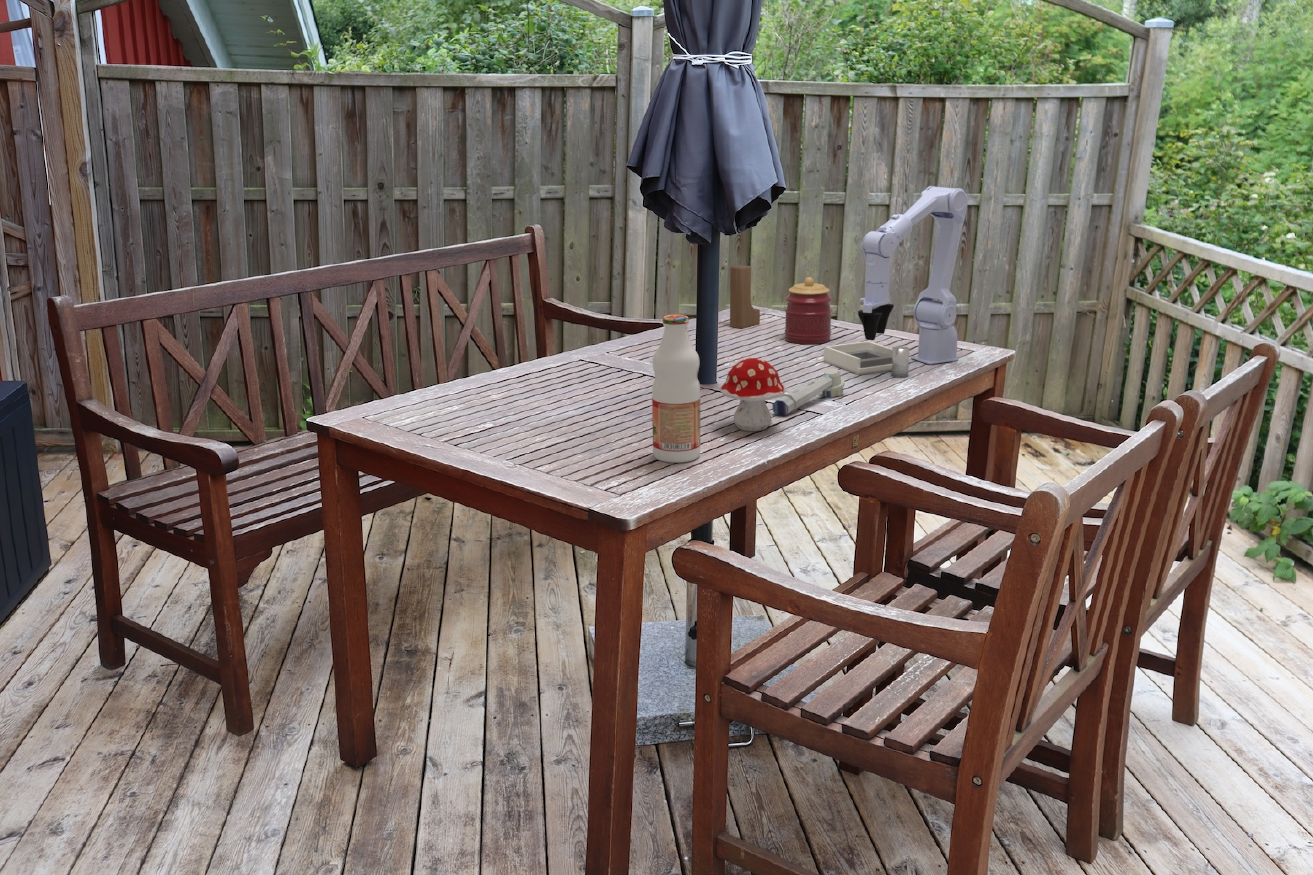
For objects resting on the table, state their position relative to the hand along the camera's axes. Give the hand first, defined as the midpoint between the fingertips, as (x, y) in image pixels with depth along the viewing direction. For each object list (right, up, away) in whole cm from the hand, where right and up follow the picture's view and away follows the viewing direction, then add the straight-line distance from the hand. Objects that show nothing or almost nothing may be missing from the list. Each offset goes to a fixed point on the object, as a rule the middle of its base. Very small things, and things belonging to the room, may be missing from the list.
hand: (874, 336), depth 289 cm
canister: (-11, +2, +41) cm, 43 cm away
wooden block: (-28, +8, +60) cm, 67 cm away
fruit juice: (-50, -29, -57) cm, 81 cm away
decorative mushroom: (-33, -23, -39) cm, 56 cm away
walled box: (-1, -6, +12) cm, 13 cm away
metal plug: (+6, -10, +1) cm, 12 cm away
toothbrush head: (-19, -18, -21) cm, 34 cm away
